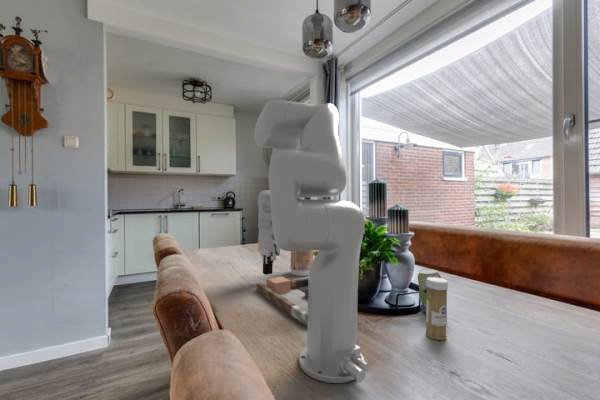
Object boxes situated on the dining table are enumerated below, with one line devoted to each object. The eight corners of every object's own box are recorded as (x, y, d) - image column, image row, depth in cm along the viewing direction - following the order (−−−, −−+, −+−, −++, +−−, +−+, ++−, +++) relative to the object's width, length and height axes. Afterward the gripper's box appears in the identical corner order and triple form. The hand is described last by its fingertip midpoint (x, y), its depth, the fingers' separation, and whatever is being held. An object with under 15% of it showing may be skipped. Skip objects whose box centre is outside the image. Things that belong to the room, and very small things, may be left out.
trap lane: (369, 310, 81) (369, 299, 81) (307, 327, 69) (307, 315, 69) (308, 281, 108) (308, 273, 108) (256, 290, 97) (256, 281, 97)
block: (290, 292, 96) (290, 280, 96) (275, 295, 92) (275, 283, 92) (281, 287, 101) (281, 276, 101) (266, 290, 97) (266, 278, 97)
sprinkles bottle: (440, 343, 63) (441, 283, 63) (421, 335, 66) (422, 278, 66) (450, 337, 65) (451, 279, 65) (431, 329, 69) (432, 275, 69)
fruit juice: (285, 273, 120) (286, 207, 119) (301, 269, 126) (302, 207, 126) (301, 277, 113) (302, 208, 113) (317, 273, 119) (318, 208, 119)
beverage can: (448, 318, 76) (449, 274, 76) (419, 315, 78) (420, 272, 77) (441, 309, 82) (442, 268, 82) (414, 307, 84) (415, 267, 84)
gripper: (287, 226, 99) (286, 277, 100) (268, 222, 112) (267, 267, 112) (268, 227, 95) (267, 280, 96) (251, 222, 108) (250, 270, 108)
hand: (267, 273), depth 104 cm, fingers closed
